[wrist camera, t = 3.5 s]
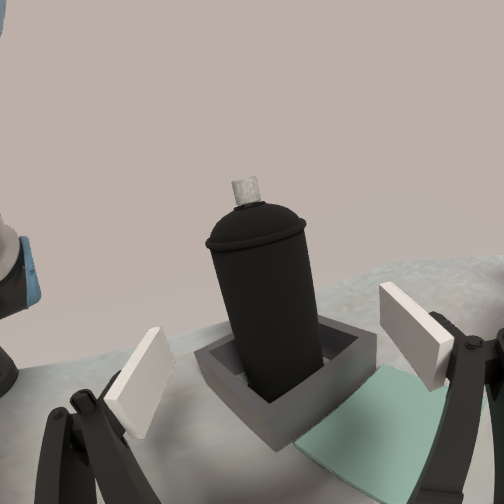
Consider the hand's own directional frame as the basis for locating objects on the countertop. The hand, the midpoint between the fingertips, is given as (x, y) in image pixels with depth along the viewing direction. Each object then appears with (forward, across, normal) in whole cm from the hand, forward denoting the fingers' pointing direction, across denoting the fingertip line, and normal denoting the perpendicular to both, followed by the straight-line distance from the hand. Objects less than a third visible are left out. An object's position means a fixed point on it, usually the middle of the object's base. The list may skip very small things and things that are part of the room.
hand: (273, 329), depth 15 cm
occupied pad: (-2, +8, -11) cm, 14 cm away
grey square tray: (+8, 0, -11) cm, 14 cm away
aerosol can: (+8, 0, -12) cm, 14 cm away
